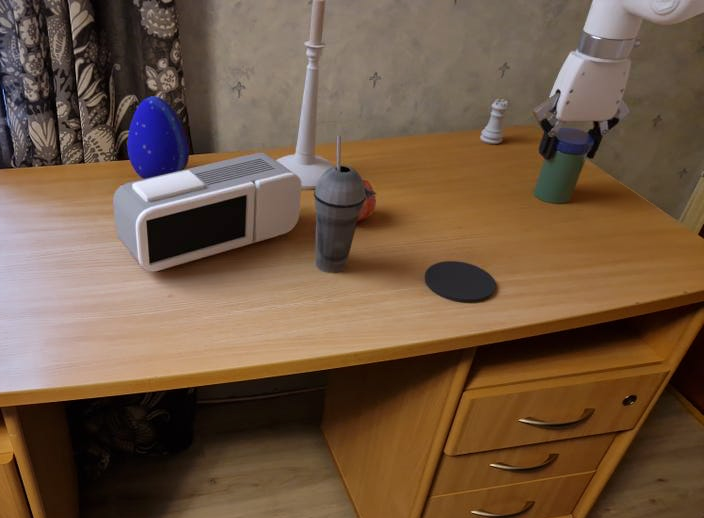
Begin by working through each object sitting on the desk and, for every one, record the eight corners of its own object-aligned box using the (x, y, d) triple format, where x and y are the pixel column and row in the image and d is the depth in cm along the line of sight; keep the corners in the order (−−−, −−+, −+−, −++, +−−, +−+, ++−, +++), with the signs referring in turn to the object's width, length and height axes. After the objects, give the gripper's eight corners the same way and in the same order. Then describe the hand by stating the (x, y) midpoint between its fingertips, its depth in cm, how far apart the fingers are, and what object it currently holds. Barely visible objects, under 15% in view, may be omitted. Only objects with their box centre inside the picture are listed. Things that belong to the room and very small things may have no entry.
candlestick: (316, 154, 133) (333, -17, 113) (351, 182, 124) (376, 1, 104) (257, 165, 129) (265, -10, 109) (289, 194, 120) (303, 9, 100)
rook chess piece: (505, 140, 139) (516, 101, 134) (496, 147, 136) (507, 107, 131) (485, 134, 141) (495, 95, 136) (475, 140, 139) (485, 101, 133)
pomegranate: (320, 230, 115) (355, 218, 106) (312, 187, 114) (347, 172, 105) (355, 225, 118) (392, 213, 109) (348, 183, 118) (385, 167, 109)
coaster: (479, 263, 104) (480, 259, 103) (505, 301, 96) (506, 298, 96) (416, 265, 103) (416, 261, 103) (436, 304, 95) (437, 300, 95)
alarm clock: (142, 282, 99) (136, 208, 91) (117, 252, 105) (110, 181, 97) (297, 236, 109) (304, 167, 101) (267, 211, 115) (271, 144, 107)
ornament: (197, 180, 124) (196, 97, 114) (162, 198, 119) (157, 112, 109) (154, 163, 129) (149, 82, 119) (119, 179, 124) (111, 96, 114)
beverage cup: (342, 283, 99) (361, 152, 86) (298, 268, 102) (310, 140, 89) (362, 260, 104) (383, 133, 91) (319, 247, 107) (334, 122, 94)
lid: (579, 136, 118) (582, 127, 117) (599, 153, 112) (603, 144, 111) (540, 137, 117) (543, 128, 116) (558, 154, 112) (562, 144, 111)
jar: (560, 186, 124) (581, 130, 117) (577, 203, 119) (599, 146, 112) (526, 187, 123) (545, 131, 116) (542, 204, 118) (562, 147, 111)
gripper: (645, 38, 108) (603, 145, 119) (540, 39, 107) (507, 148, 118) (672, 52, 102) (625, 164, 114) (561, 54, 101) (525, 166, 113)
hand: (565, 155), depth 116 cm, fingers closed on lid, 6 cm apart
